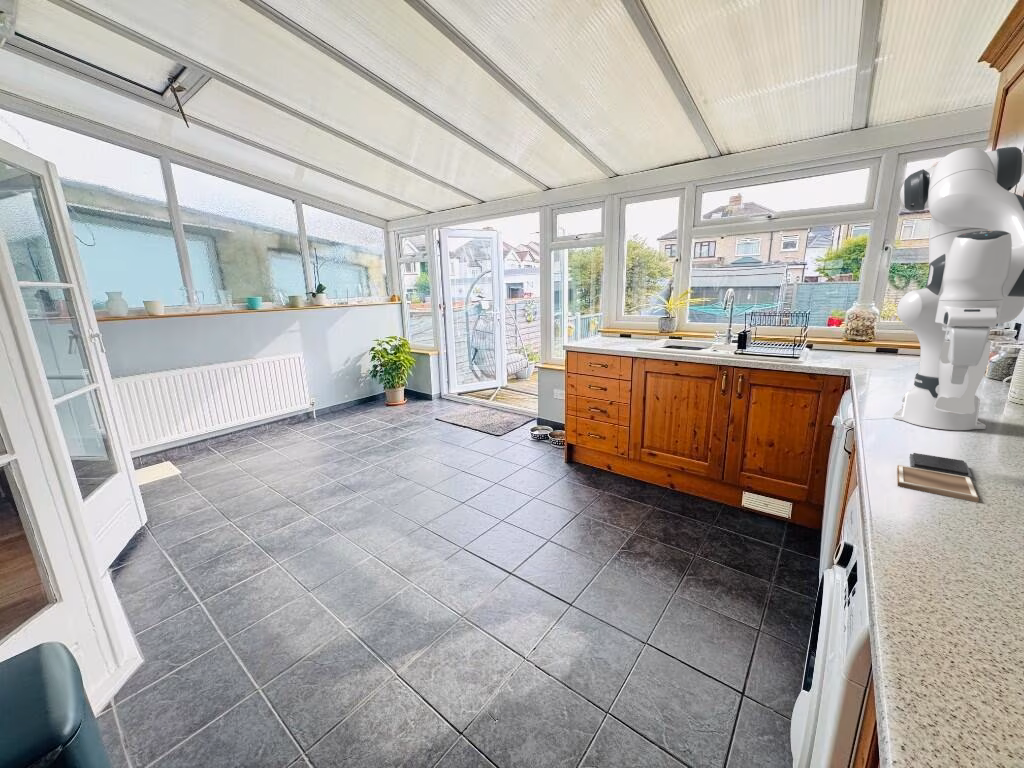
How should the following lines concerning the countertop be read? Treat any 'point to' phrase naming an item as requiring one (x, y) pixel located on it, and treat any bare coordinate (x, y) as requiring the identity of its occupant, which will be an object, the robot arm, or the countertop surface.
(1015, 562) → the countertop surface
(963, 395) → the beer glass
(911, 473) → the board
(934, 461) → the ink pad
